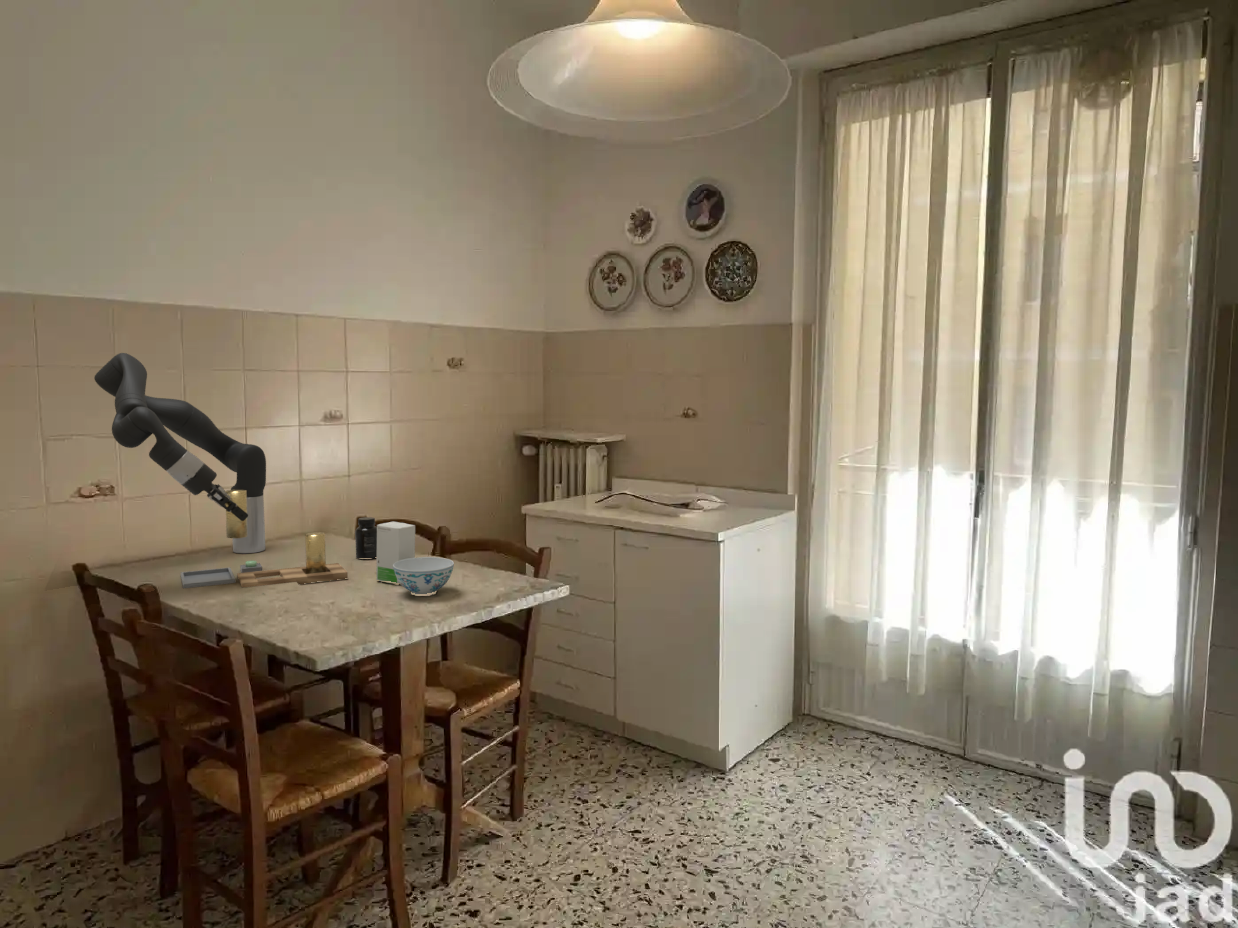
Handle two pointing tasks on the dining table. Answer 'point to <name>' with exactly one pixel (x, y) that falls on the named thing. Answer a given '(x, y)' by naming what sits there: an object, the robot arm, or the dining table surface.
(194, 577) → the grey tray
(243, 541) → the robot arm
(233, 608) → the dining table surface
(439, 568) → the chinaware
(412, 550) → the skincare box
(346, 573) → the pallet
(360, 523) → the supplement bottle
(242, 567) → the button housing
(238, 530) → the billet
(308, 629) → the dining table surface
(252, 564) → the button
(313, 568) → the seated billet
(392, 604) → the dining table surface
